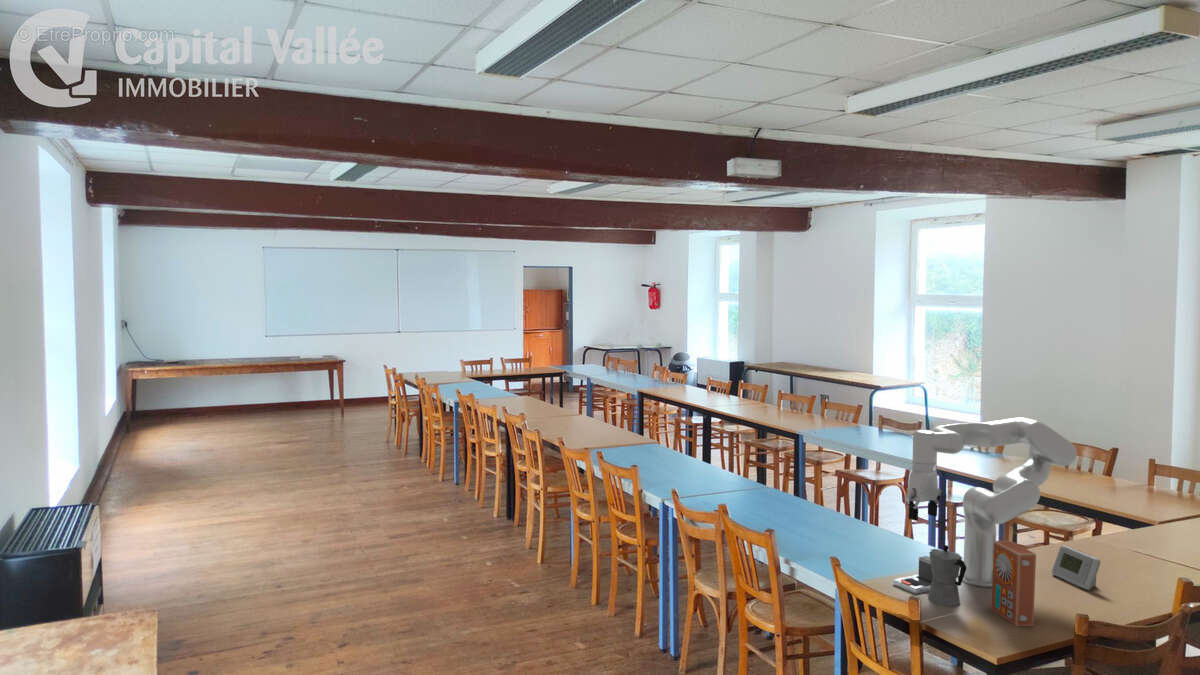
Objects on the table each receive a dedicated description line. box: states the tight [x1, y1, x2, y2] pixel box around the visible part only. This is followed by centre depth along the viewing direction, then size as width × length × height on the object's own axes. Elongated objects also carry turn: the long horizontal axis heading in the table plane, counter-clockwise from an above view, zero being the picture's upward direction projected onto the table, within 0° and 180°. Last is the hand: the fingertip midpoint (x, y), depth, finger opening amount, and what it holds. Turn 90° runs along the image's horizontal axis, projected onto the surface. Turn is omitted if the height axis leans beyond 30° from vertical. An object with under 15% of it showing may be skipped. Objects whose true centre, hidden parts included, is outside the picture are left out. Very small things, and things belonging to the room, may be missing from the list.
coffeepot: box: [927, 544, 966, 607], centre depth 239 cm, size 15×9×18 cm, turn 14°
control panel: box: [990, 540, 1037, 627], centre depth 228 cm, size 21×7×15 cm
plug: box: [917, 555, 933, 583], centre depth 254 cm, size 4×5×8 cm
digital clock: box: [1051, 544, 1101, 591], centre depth 258 cm, size 16×9×11 cm, turn 179°
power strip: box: [892, 573, 931, 595], centre depth 253 cm, size 16×9×2 cm, turn 117°
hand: (922, 517), depth 257 cm, fingers open, 9 cm apart
